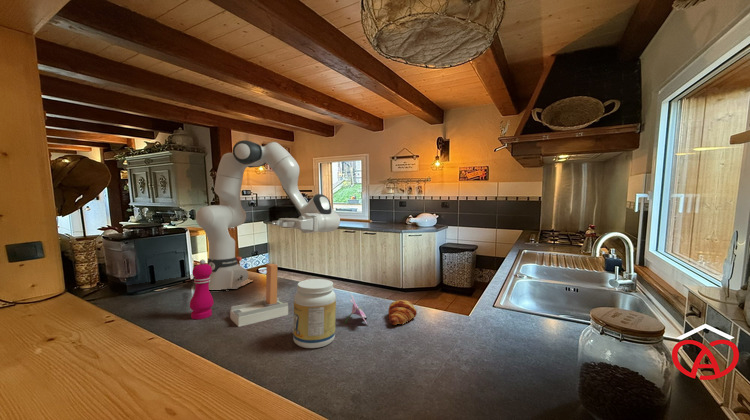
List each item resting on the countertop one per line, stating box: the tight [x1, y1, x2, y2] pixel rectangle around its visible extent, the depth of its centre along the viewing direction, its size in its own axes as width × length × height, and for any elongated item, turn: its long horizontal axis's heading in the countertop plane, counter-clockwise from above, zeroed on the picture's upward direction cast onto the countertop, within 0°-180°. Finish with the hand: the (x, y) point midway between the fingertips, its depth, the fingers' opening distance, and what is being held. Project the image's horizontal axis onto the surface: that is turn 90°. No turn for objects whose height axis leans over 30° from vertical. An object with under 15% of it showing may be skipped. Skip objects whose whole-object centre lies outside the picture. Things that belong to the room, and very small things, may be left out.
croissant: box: [387, 299, 418, 326], centre depth 105 cm, size 21×10×8 cm, turn 159°
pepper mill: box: [189, 259, 215, 320], centre depth 102 cm, size 7×7×20 cm
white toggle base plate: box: [229, 296, 289, 328], centre depth 103 cm, size 17×9×4 cm, turn 132°
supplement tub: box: [292, 278, 337, 349], centre depth 86 cm, size 12×12×17 cm
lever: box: [263, 263, 280, 307], centre depth 105 cm, size 4×6×15 cm, turn 42°
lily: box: [344, 291, 368, 325], centre depth 99 cm, size 12×12×10 cm
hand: (277, 223), depth 120 cm, fingers open, 8 cm apart
